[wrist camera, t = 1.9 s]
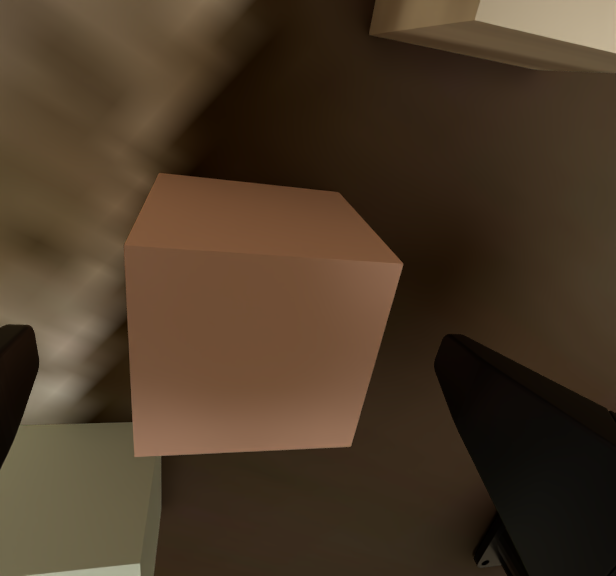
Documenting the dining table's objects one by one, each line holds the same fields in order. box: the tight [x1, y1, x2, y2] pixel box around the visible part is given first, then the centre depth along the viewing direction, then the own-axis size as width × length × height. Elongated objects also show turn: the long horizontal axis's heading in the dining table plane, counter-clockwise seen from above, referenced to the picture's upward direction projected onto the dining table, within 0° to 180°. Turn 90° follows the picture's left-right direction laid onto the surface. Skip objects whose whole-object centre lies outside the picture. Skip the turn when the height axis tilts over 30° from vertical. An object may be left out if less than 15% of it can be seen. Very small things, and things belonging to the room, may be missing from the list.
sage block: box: [0, 422, 161, 576], centre depth 14 cm, size 5×5×5 cm
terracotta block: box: [124, 173, 403, 457], centre depth 11 cm, size 5×5×5 cm
